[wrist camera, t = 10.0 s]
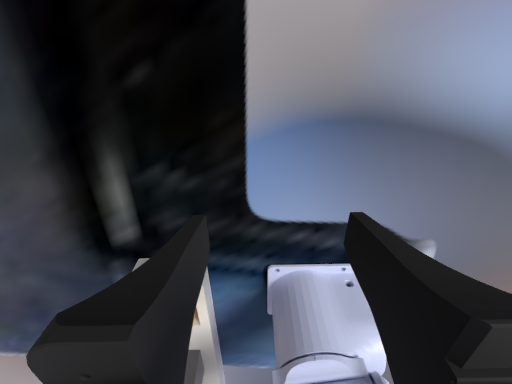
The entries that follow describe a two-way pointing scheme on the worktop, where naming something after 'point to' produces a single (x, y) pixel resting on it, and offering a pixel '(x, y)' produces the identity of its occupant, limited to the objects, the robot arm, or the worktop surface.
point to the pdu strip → (202, 340)
